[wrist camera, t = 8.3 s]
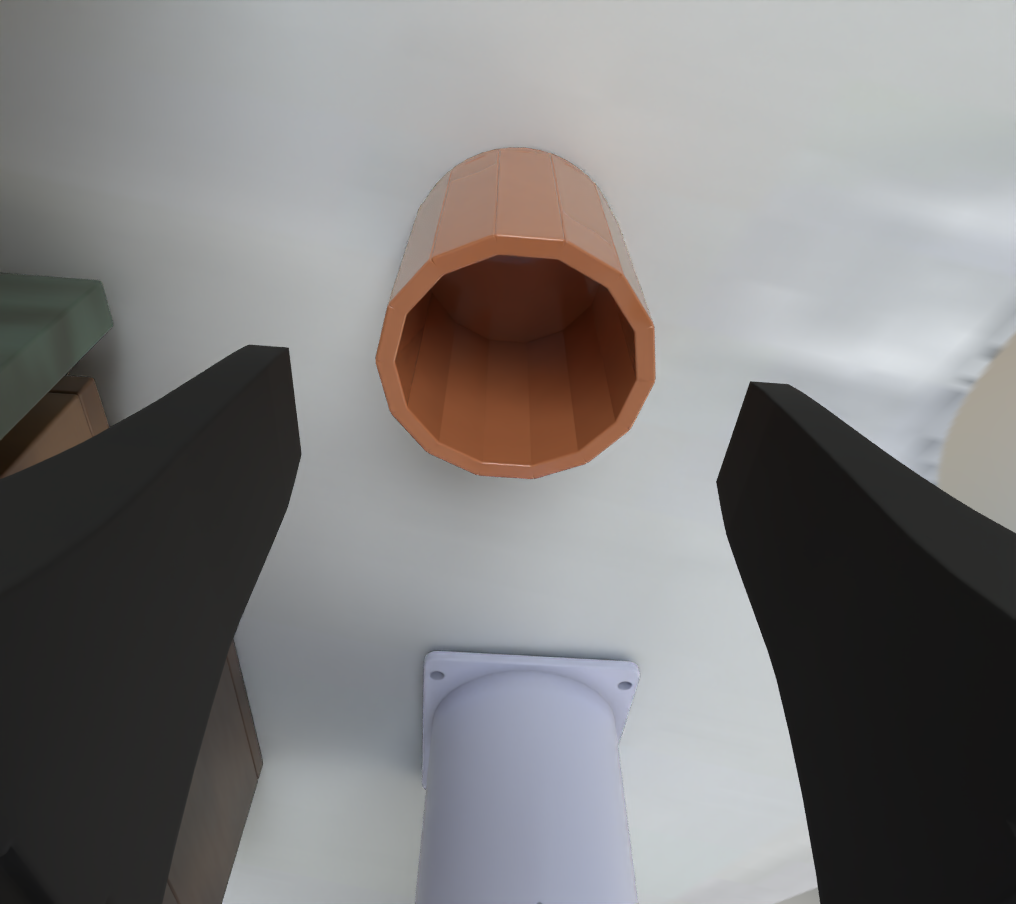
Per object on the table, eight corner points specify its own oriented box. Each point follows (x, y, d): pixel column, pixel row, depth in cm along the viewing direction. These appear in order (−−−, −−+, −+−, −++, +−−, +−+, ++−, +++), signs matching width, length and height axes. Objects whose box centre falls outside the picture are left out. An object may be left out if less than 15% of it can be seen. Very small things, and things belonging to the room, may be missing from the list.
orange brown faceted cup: (601, 352, 18) (630, 486, 14) (410, 337, 18) (379, 470, 14) (637, 157, 16) (687, 249, 11) (410, 137, 15) (370, 223, 11)
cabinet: (-182, 514, 22) (-470, 760, 16) (210, 538, 23) (89, 785, 16) (-22, 749, 30) (-167, 975, 24) (263, 762, 31) (197, 986, 24)
